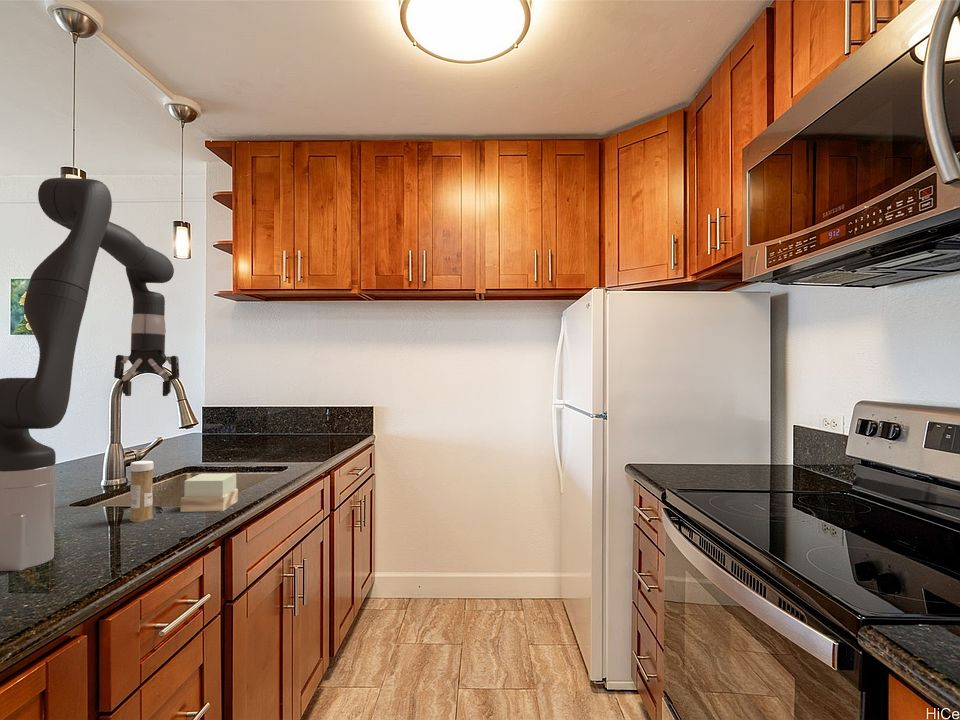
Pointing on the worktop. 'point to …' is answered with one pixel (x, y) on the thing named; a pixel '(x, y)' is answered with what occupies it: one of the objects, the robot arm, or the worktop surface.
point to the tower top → (210, 485)
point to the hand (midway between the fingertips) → (146, 396)
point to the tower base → (208, 502)
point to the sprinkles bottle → (141, 490)
